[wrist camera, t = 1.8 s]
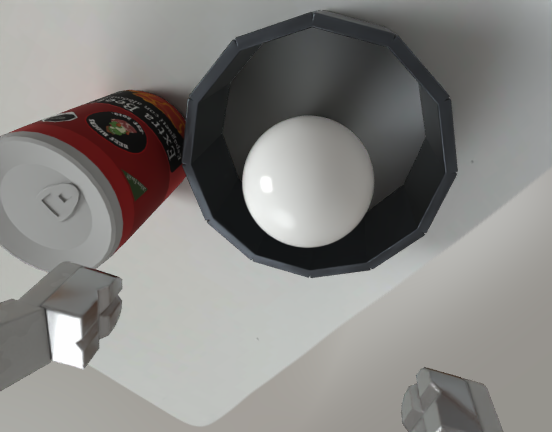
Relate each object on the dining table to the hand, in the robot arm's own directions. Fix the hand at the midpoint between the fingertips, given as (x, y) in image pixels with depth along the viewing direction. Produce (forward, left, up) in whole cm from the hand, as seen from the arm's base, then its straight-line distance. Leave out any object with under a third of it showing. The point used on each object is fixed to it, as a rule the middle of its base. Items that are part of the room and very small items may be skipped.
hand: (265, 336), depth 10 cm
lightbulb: (0, 0, -18) cm, 18 cm away
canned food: (+12, +4, -18) cm, 22 cm away
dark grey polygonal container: (0, 0, -18) cm, 18 cm away
